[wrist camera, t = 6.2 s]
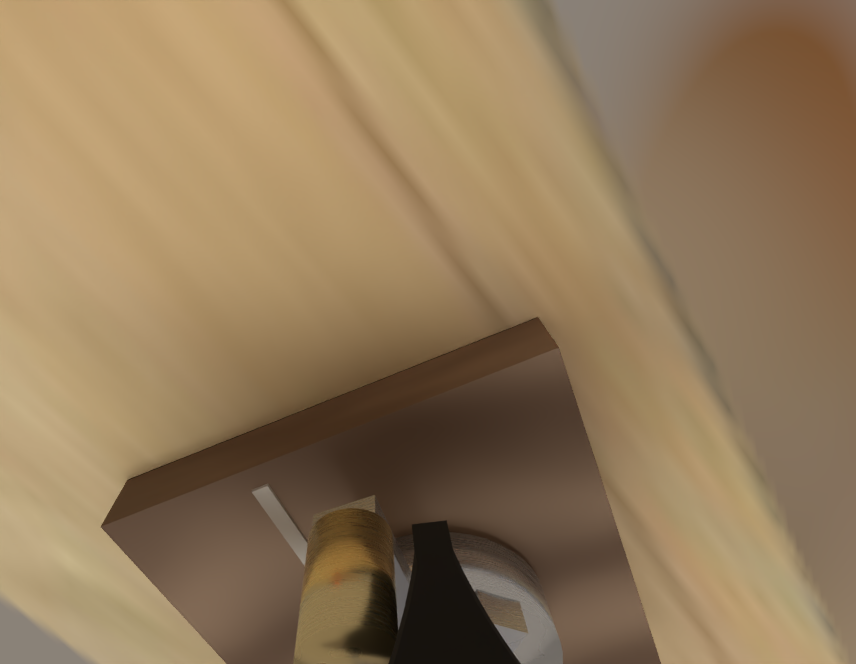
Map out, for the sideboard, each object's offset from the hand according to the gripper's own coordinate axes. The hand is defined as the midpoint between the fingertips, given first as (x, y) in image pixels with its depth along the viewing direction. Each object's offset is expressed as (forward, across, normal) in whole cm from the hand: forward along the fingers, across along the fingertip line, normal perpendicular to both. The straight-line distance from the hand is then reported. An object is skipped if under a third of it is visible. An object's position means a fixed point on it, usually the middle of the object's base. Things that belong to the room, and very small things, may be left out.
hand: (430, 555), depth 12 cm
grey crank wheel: (+4, +1, +5) cm, 6 cm away
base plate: (+6, 0, +7) cm, 9 cm away
